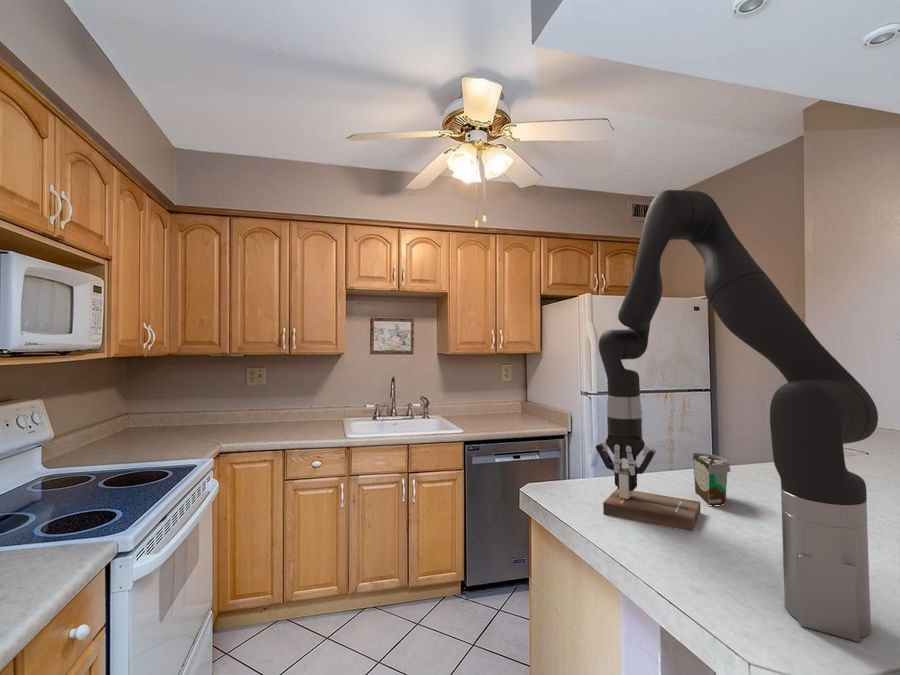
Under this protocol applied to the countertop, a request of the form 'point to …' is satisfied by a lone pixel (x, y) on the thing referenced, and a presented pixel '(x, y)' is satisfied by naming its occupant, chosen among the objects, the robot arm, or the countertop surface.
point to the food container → (710, 477)
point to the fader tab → (624, 483)
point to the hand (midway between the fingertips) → (626, 488)
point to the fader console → (654, 509)
